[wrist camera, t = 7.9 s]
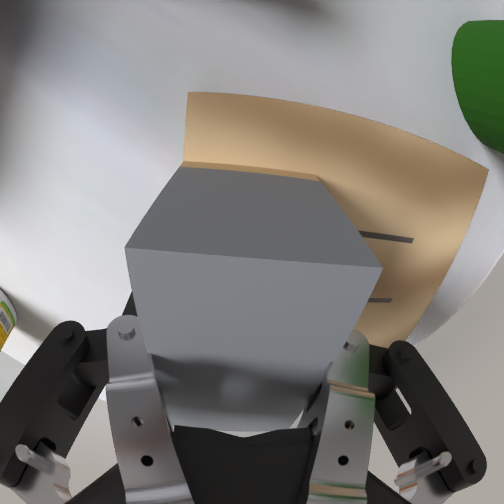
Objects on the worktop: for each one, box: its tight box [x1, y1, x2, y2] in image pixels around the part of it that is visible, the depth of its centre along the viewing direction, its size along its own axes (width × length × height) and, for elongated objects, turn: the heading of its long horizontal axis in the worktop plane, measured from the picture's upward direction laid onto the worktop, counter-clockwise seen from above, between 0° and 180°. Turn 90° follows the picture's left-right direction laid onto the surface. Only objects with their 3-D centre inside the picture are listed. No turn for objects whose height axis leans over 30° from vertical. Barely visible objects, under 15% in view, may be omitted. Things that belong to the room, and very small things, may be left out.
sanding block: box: [125, 161, 383, 431], centre depth 10 cm, size 5×9×6 cm, turn 173°
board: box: [183, 92, 489, 348], centre depth 13 cm, size 14×15×2 cm
